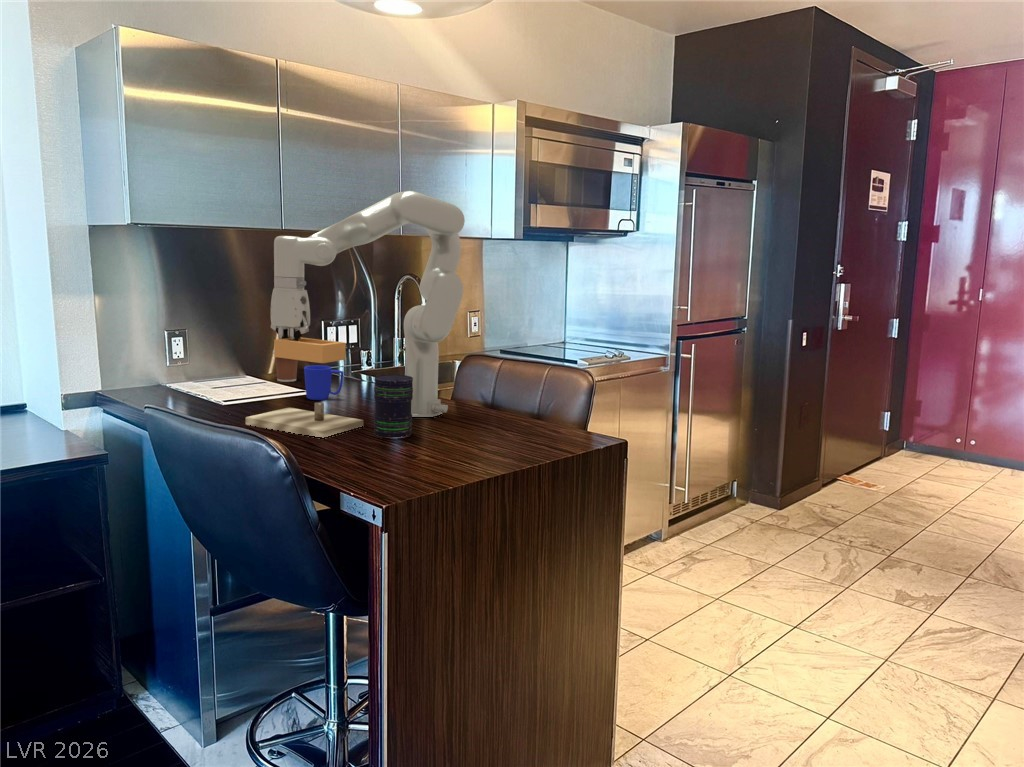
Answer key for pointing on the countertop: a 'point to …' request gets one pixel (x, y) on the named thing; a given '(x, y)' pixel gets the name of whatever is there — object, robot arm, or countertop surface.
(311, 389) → the mug
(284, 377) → the coffee cup
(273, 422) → the backing board
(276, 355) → the orange rectangular frame
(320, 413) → the round metal post
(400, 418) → the storage jar
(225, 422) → the countertop surface
